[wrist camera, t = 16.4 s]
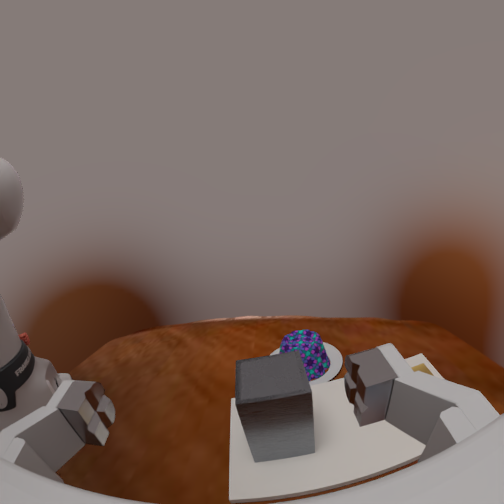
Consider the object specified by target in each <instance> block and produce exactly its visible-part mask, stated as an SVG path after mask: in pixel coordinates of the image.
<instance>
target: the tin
mask: <svg viewBox="0 0 504 504" xmlns="http://www.w3.org/2000/svg"><path fill="white" fill-rule="evenodd" d="M235 405H236V409H237V412H238V415H239V418H240V421H241V424H242V427H243V430H244V433H245V436H246V439H247V442H248V445H249V448H250V451H251V454H252V456H253V459H254V462H255V463H256V462H265V461H272V460H279V459H286V458H292V457H297V456H303V455H308V454H312V453H315V438H314V417H313V400H312V390H311V387H310V384H309V381H308V377H307V374H306V371H305V368H304V365H303V361H302V358H301V355H300V352H299V350H297V351H292V352H287V353H281V354H275V355H270V356H263V357H257V358H251V359H244V360H237V361H236V387H235Z"/></svg>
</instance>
